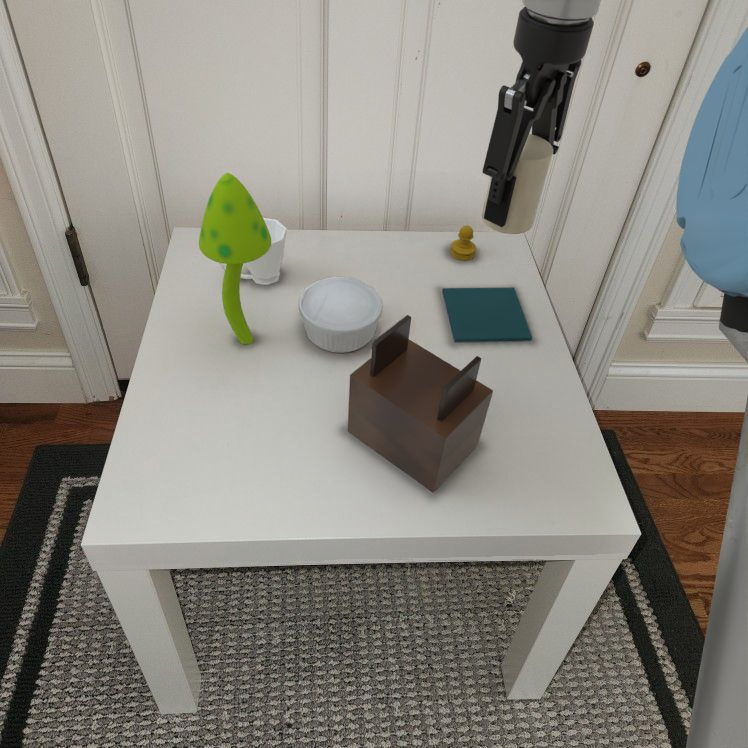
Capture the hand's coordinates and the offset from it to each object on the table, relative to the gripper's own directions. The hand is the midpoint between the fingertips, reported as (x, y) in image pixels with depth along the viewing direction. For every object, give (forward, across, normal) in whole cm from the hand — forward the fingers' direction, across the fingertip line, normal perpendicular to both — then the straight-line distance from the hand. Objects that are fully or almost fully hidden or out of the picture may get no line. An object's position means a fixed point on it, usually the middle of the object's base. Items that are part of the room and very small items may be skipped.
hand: (510, 209), depth 83 cm
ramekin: (+18, +17, -13) cm, 28 cm away
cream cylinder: (+1, 0, 0) cm, 1 cm away
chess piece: (+18, -10, -11) cm, 23 cm away
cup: (+18, +17, -30) cm, 39 cm away
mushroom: (+18, +27, -21) cm, 39 cm away
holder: (+17, +25, +6) cm, 31 cm away
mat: (+18, 0, 0) cm, 18 cm away
